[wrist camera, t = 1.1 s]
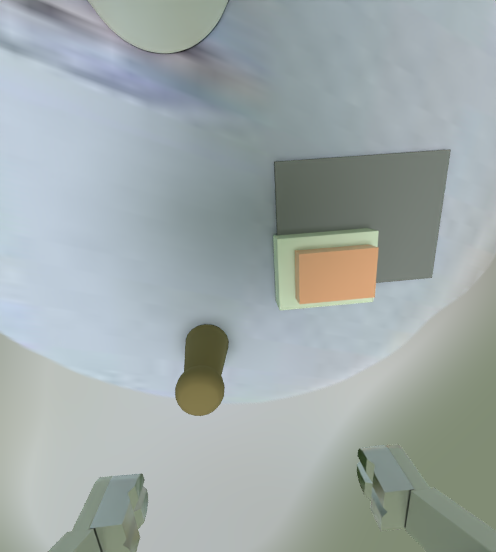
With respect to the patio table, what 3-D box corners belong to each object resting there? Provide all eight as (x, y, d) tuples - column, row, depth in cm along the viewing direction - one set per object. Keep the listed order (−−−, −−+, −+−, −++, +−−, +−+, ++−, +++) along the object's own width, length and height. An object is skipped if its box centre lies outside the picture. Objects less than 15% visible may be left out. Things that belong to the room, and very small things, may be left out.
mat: (274, 162, 31) (274, 161, 30) (448, 150, 32) (450, 149, 31) (279, 290, 35) (279, 291, 35) (429, 276, 36) (431, 277, 36)
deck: (273, 235, 33) (277, 239, 30) (366, 227, 34) (378, 230, 31) (275, 301, 36) (279, 310, 33) (361, 293, 36) (373, 301, 34)
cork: (236, 336, 37) (239, 392, 27) (214, 368, 38) (209, 433, 28) (198, 316, 36) (186, 367, 25) (177, 350, 37) (157, 411, 27)
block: (294, 250, 31) (298, 254, 29) (369, 244, 31) (378, 247, 29) (295, 298, 33) (299, 304, 31) (366, 291, 33) (374, 297, 31)
